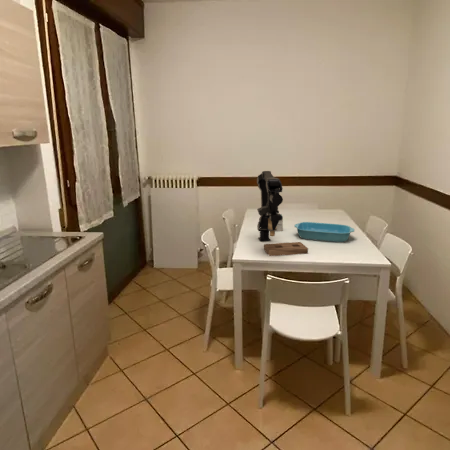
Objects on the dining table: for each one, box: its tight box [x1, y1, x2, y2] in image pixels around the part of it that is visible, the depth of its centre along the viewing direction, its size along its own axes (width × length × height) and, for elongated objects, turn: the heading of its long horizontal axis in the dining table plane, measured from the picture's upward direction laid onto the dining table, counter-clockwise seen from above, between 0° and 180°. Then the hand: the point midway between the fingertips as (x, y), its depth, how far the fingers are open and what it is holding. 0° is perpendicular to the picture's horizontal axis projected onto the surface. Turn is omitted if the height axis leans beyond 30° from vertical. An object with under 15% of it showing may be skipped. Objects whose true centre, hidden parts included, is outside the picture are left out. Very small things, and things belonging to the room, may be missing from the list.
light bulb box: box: [275, 213, 284, 232], centre depth 249 cm, size 11×7×11 cm, turn 92°
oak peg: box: [268, 218, 277, 237], centre depth 205 cm, size 5×5×10 cm
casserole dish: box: [294, 221, 356, 243], centre depth 232 cm, size 37×22×7 cm, turn 72°
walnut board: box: [263, 241, 309, 257], centre depth 207 cm, size 12×22×3 cm, turn 98°
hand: (272, 228), depth 206 cm, fingers closed on oak peg, 5 cm apart
